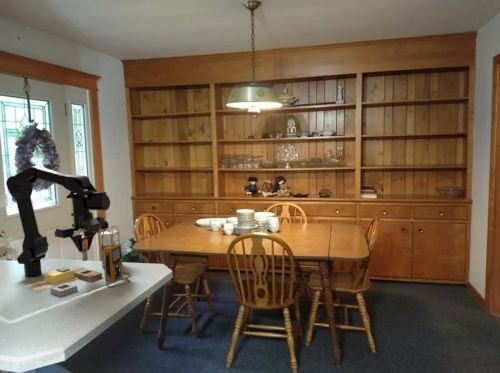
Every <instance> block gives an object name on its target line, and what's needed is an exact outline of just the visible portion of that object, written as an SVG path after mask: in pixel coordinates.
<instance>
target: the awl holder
mask: <svg viewBox="0 0 500 373" xmlns="http://www.w3.org/2000/svg"><path fill="white" fill-rule="evenodd" d="M49 289H50V294H53V295H55V296H58V297H63V296H66V295H70V294H72V293H75V292H77V291H78V290H79V289H78V285H77V284H74V283H70V282H66V283H63V284H60V285H57V286H54V287H51V288H49Z"/></svg>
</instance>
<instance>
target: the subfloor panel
mask: <svg viewBox="0 0 500 373" xmlns="http://www.w3.org/2000/svg"><path fill="white" fill-rule="evenodd" d="M77 279H79V278H77V277H75V278H72V279H69V280H66V281H63V282H59V283H56V284H52V283H49V282H46V281H45V279H43V280H39V281H35V282H32V283H29V284H25V285H24V287H25V288H28V289H30V290H33V291H36V292H42V291H45V290H47V289H50V288H52V287H55V286H58V285H61V284H64V283H70V282H71V281H75V280H77Z"/></svg>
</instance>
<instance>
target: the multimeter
mask: <svg viewBox="0 0 500 373" xmlns="http://www.w3.org/2000/svg"><path fill="white" fill-rule="evenodd" d="M113 228H116V231H118V240H119V244H114V239H113V238H112V237H113V231H114V230H113ZM103 230H104V231H102V232H103V234H104V232H105V231H112V236H111V245H110V246H108V247H106V248H104V253H103V261H104V257H105V264H104V267H103V269H104V271H103V272H104V278H105V279H104V280H105V285H106V287H108V288H114V287H120V286H123V285H124V284H128V282H129V283H132V280H130V279H129V278H130V277H131V275H132V274H131V273H128V272H124V271H123V253H122V252H123V251H122V243H120V231H119V229H118V227H117V226H115V225H113V226H111V230H110V229H103ZM110 233H111V232H110ZM102 251H103V235H102ZM124 274H126V275H128V276H127V277H125V279H126V280H127V281H128V282H122V283H119V284H115V281H116V280H117V279H119V278H123V277H124ZM107 282H111V283H112V284H115V285H111V286H110V285H108V283H107Z"/></svg>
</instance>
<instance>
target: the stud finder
mask: <svg viewBox="0 0 500 373" xmlns="http://www.w3.org/2000/svg"><path fill="white" fill-rule="evenodd" d="M72 278H75V274H74V270H73V269H72V268H69V267H64V266H63V267H61V268H56V269H55V270H51V271H48V272H45V273H44V280H45V281H46V282H49V283H52V284H56V283H59V282H63V281H66V280H69V279H72Z"/></svg>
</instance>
